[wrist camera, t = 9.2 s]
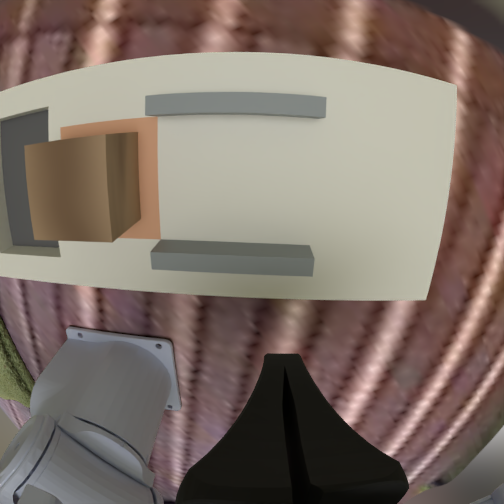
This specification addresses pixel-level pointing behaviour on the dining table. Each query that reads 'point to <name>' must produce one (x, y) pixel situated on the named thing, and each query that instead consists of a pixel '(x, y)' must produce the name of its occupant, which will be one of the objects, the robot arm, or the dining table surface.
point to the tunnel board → (246, 175)
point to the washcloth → (13, 371)
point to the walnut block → (83, 187)
